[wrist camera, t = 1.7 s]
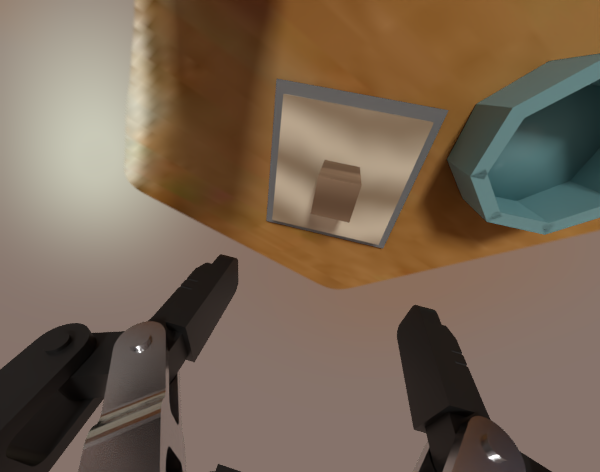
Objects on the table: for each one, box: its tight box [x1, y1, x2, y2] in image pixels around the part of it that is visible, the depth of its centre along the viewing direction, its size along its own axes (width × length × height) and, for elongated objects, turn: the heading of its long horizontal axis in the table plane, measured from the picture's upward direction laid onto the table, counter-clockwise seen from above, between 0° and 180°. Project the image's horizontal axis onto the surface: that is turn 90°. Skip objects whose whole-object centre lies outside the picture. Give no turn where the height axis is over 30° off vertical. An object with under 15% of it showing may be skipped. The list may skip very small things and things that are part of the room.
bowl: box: [447, 54, 600, 235], centre depth 17 cm, size 11×11×5 cm
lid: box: [272, 94, 434, 245], centre depth 21 cm, size 13×13×6 cm
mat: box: [267, 79, 448, 248], centre depth 23 cm, size 15×15×1 cm
